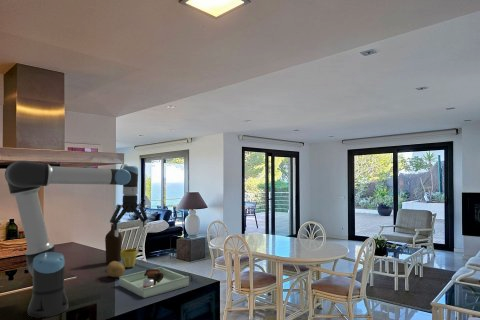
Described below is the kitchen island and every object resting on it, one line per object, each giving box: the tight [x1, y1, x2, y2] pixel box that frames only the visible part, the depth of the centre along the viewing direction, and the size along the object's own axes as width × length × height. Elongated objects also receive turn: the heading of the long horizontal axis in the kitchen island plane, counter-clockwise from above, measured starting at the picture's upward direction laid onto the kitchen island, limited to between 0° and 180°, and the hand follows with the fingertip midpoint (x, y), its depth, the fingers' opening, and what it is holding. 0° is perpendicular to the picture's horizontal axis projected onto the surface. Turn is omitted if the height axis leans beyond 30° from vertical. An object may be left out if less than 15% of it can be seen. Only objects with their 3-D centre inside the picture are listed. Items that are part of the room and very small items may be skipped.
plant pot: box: [121, 248, 138, 268], centre depth 214 cm, size 10×10×10 cm
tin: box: [143, 279, 154, 288], centre depth 165 cm, size 5×5×6 cm
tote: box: [118, 266, 190, 299], centre depth 177 cm, size 26×26×5 cm
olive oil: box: [104, 223, 123, 264], centre depth 225 cm, size 11×11×25 cm
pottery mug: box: [144, 268, 164, 285], centre depth 178 cm, size 12×9×8 cm
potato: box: [106, 261, 126, 278], centre depth 192 cm, size 10×14×8 cm
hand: (129, 235), depth 178 cm, fingers open, 13 cm apart
